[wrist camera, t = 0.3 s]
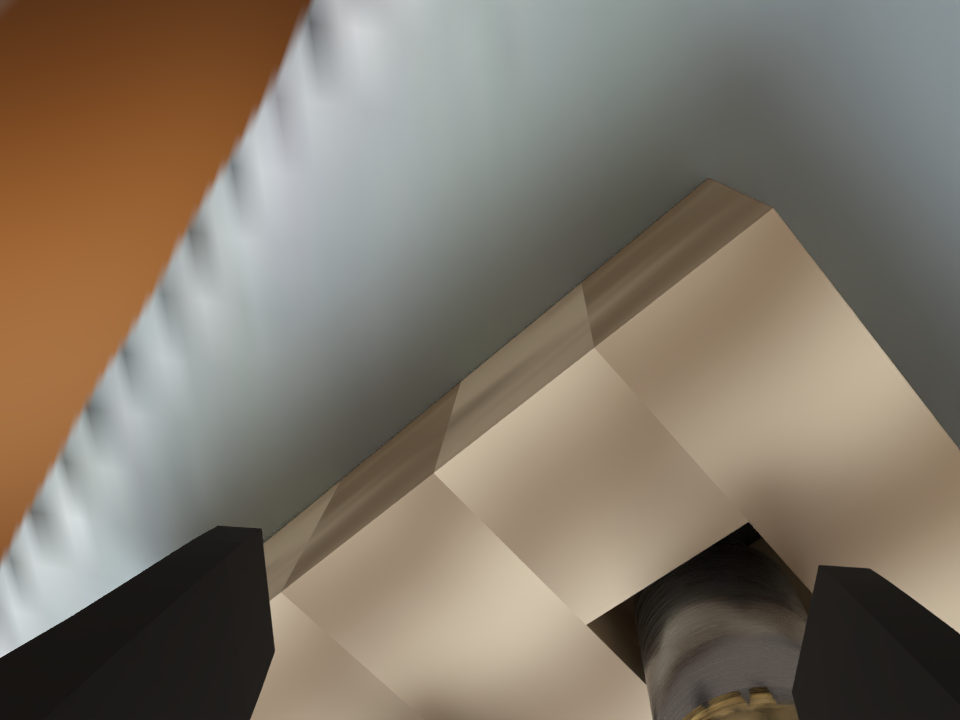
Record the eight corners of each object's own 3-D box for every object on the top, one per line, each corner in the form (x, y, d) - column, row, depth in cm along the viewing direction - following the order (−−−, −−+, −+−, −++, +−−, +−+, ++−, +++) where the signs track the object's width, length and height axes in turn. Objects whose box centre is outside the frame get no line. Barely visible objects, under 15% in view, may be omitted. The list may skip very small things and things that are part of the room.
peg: (826, 618, 16) (927, 804, 12) (695, 692, 17) (745, 887, 13) (732, 512, 15) (804, 670, 11) (602, 596, 16) (622, 770, 12)
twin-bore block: (1011, 562, 19) (1159, 708, 15) (462, 861, 26) (443, 1030, 21) (709, 177, 17) (773, 208, 12) (172, 617, 23) (77, 751, 18)
